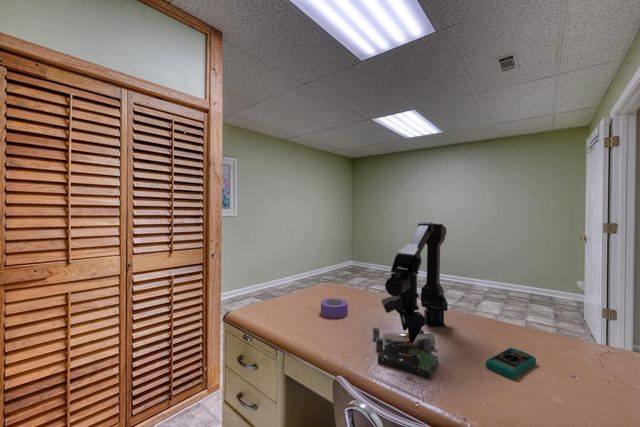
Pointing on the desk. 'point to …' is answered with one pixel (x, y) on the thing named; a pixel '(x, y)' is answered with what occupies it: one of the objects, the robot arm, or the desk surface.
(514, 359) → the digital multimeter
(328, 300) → the tape roll
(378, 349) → the collar stand
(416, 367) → the disk drive
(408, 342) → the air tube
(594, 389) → the desk surface
